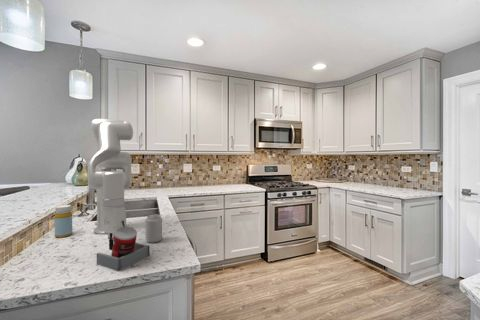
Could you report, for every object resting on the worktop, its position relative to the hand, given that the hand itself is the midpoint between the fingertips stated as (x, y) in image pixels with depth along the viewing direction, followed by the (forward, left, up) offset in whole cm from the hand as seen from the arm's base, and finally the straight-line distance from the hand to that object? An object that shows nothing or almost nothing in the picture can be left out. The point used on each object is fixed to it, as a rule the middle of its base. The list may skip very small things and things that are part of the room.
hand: (114, 248), depth 92 cm
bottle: (-46, +6, -4) cm, 46 cm away
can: (0, +21, -4) cm, 21 cm away
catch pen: (+5, +1, -4) cm, 6 cm away
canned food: (+5, 0, -3) cm, 5 cm away
